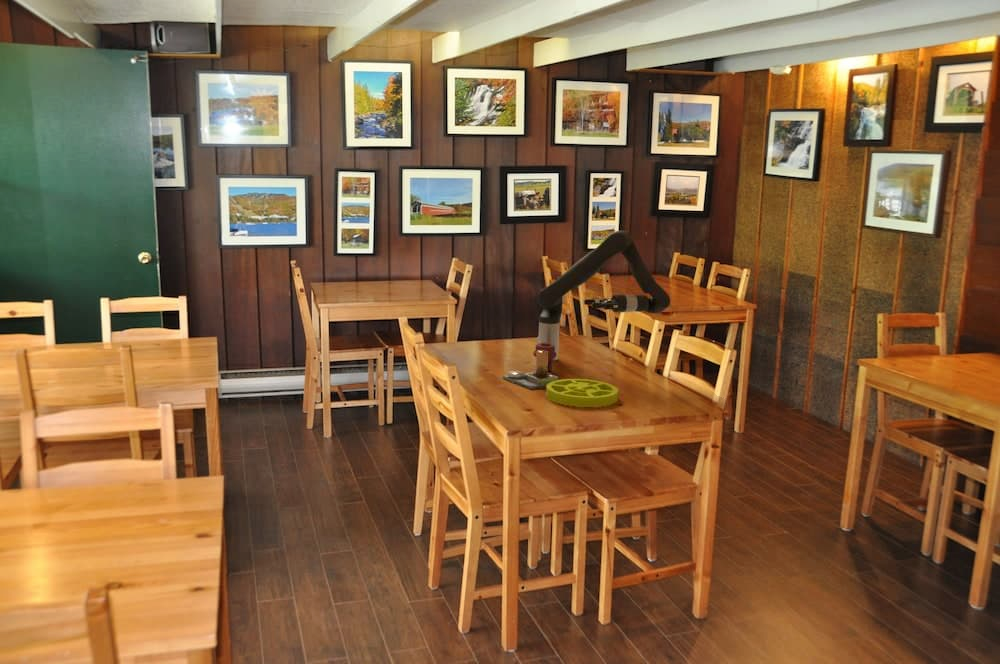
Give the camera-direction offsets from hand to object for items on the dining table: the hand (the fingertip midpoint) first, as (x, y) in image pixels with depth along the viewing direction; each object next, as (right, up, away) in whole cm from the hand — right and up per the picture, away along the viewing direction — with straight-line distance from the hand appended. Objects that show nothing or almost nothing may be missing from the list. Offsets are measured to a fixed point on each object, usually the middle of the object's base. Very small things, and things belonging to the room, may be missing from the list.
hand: (588, 303), depth 371 cm
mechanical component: (-18, -29, +17) cm, 38 cm away
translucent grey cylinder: (-20, -31, -4) cm, 37 cm away
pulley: (-5, -38, -23) cm, 44 cm away
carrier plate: (-23, -32, -2) cm, 40 cm away
